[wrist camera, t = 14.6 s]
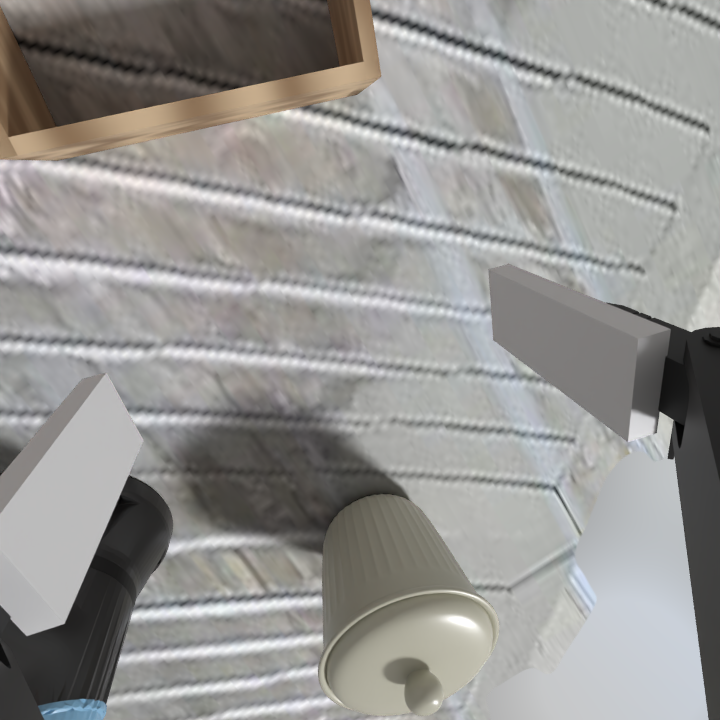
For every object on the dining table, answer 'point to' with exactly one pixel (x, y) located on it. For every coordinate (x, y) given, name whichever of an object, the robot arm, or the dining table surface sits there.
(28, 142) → the u-shaped wooden frame
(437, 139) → the dining table surface
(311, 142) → the dining table surface
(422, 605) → the canister
